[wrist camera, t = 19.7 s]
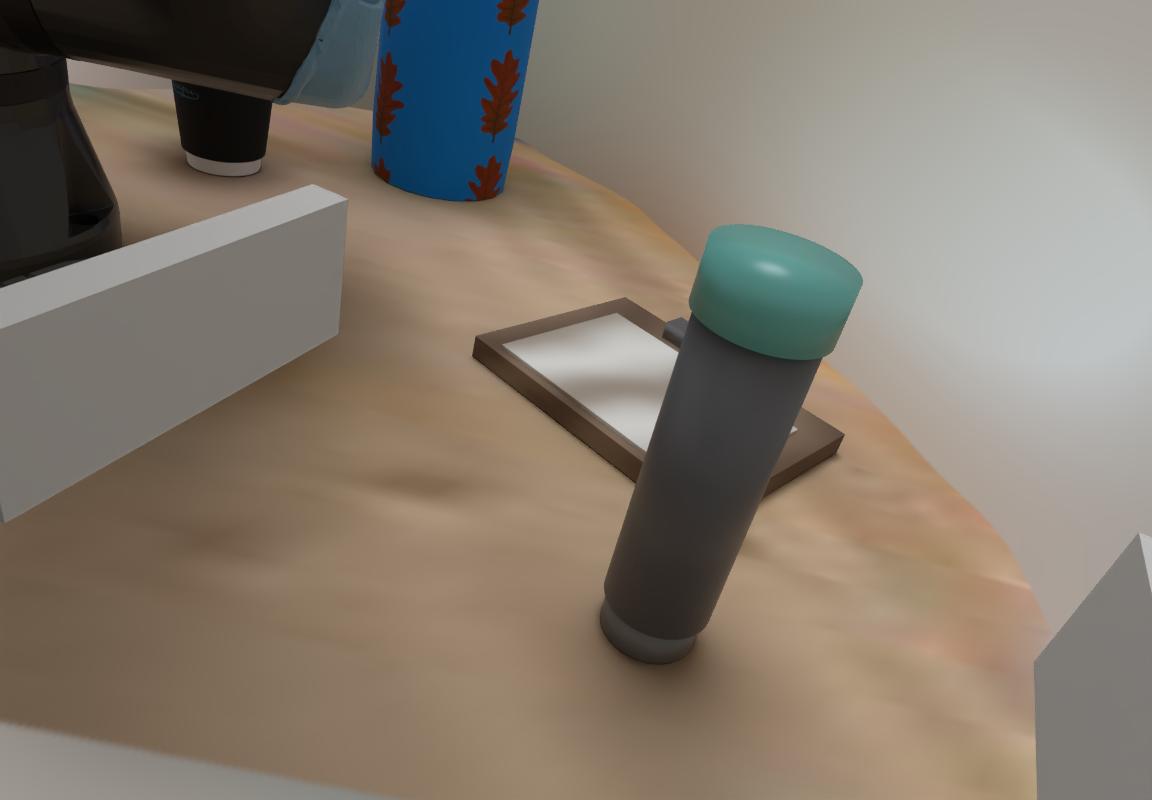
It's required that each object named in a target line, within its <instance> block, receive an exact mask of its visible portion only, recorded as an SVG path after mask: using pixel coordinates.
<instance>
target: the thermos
mask: <svg viewBox="0 0 1152 800" xmlns="http://www.w3.org/2000/svg"><path fill="white" fill-rule="evenodd" d="M538 3H539V0H385V4H384V9H383V14H382V20H381V28H380V40H379V51H378V62H377V75H376V86H375V97H374V109H373V131H372V167H373V169H374V172H375V174H377V175H378V176H379V177H381V178H382V179H383V180H385V181H386V182H387V183H389V184H392V185H394V186H396V187H399V188H401V189H403V190H406V191H409V192H412V193H416V194H420V195H423V196H427V197H431V198H438V199H445V200H453V201H478V200H484V199H489V198H493V197H495V196H497V195H498V194H500V193H501V192H502V191H503V186H504V182H505V178H506V174H507V169H508V165H509V161H510V157H511V152H512V148H513V143H514V138H515V132H516V126H517V121H518V115H519V109H520V104H521V98H522V93H523V87H524V81H525V76H526V70H527V65H528V58H529V53H530V48H531V42H532V36H533V30H534V25H535V19H536V14H537V8H538Z"/></svg>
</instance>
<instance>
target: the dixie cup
mask: <svg viewBox="0 0 1152 800" xmlns="http://www.w3.org/2000/svg"><path fill="white" fill-rule="evenodd" d="M172 85H173V92H174V98H175V105H176V112H177V118H178V125H179V132H180V138H181V145H182V147H183V149H184V150H185V151H186V156H187V162H188V164H189V165H190V166H192V167H193V168H195V169H197V170H200V171H203V172H206V173H210V174H215V175H222V176H245V175H250V174H254V173H256V172H258V171H259V170H260V166H261V159H262V157H264V155H265V153H266V145H267V138H268V131H269V123H270V116H271V109H272V102H271V100H266V99H261V98H257V97H252V96H247V95H242V94H238V93H233V92H228V91H224V90H219V89H214V88H210V87H205V86H200V85H195V84H191V83H186V82H181V81H177V80H172Z"/></svg>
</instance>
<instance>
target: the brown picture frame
mask: <svg viewBox="0 0 1152 800" xmlns="http://www.w3.org/2000/svg"><path fill="white" fill-rule="evenodd" d="M687 325H688V321H686V320H685V319H683V318H678V319H675V320H672V321H668V322H664V321H663V320H661V319H659V318H658V317H656V316H655V315H653V314H651V313H650V312H648V311H647V310H645V309H643V308H642V307H640V306H639V305H637V304H635V303H634V302H632V301H631V300H629V299H627V298H626V297H625V298H621V299H617V300H613V301H609V302H606V303H602V304H598V305H594V306H590V307H586V308H582V309H578V310H575V311H571V312H567V313H563V314H559V315H555V316H551V317H548V318H544V319H540V320H536V321H532V322H528V323H524V324H520V325H517V326H513V327H509V328H505V329H501V330H497V331H493V332H490V333H486V334H482V335H478V336H476V337H475V343H474V349H473V355H472V356H474V357H475V358H476V359H477V360H479V361H480V362H481V363H483V364H484V365H485V366H487V367H488V368H489V369H490V370H492V371H493V372H494V373H496V374H497V375H498V376H499V377H501V378H502V379H503V380H505V381H506V382H507V383H508V384H510V385H511V386H512V387H514V388H515V389H516V390H517V391H519V392H520V393H521V394H523V395H524V396H525V397H526V398H528V399H529V400H530V401H532V402H533V403H534V404H535V405H537V406H538V407H539V408H541V409H542V410H543V411H544V412H546V413H547V414H548V415H550V416H551V417H552V418H553V419H555V420H556V421H557V422H559V423H560V424H561V425H562V426H564V427H565V428H566V429H568V430H569V431H570V432H572V433H573V434H574V435H575V436H577V437H578V438H579V439H581V440H582V441H583V442H584V443H586V444H587V445H588V446H590V447H591V448H592V449H593V450H595V451H596V452H597V453H599V454H600V455H601V456H602V457H604V458H605V459H606V460H608V461H609V462H610V463H611V464H613V465H614V466H615V467H617V468H618V469H619V470H620V471H622V472H623V473H624V474H626V475H627V476H628V477H629V478H631V479H632V480H633V481H635V482H636V483H637V479H638V476H639V473H640V470H641V467H642V464H643V461H644V458H645V455H646V452H647V449H648V446H649V442H650V439H651V436H652V433H653V430H654V427H655V424H656V421H657V418H658V415H659V412H660V409H661V405H662V402H663V399H664V396H665V393H666V390H667V387H668V384H669V381H670V378H671V375H672V372H673V368H674V365H675V362H676V359H677V356H678V353H679V350H680V347H681V344H682V341H683V338H684V335H685V331H686V328H687ZM844 435H845V434H844V433H842V432H840V431H839V430H837V429H836V428H834V427H832V426H831V425H829V424H828V423H826V422H824V421H823V420H821V419H820V418H818V417H816V416H815V415H813V414H812V413H810V412H808V411H807V410H805V409H804V408H802V407H801V409H800V411H799V413H798V416H797V418H796V420H795V423H794V425H793V427H792V430H791V432H790V434H789V437H788V439H787V441H786V444H785V446H784V448H783V450H782V453H781V455H780V457H779V460H778V462H777V464H776V467H775V469H774V471H773V474H772V476H771V478H770V481H769V483H768V485H767V488H766V490H765V492H764V494H763V497H764V496H765V495H767V494H769V493H770V492H772V491H774V490H775V489H777V488H779V487H780V486H782V485H783V484H785V483H787V482H788V481H790V480H792V479H793V478H795V477H797V476H798V475H800V474H802V473H803V472H805V471H807V470H808V469H810V468H812V467H813V466H815V465H816V464H818V463H820V462H821V461H823V460H825V459H826V458H828V457H830V456H831V455H833V454H835V453H836V452H837V450H838V448H839V446H840V444H841V442H842V440H843V437H844Z"/></svg>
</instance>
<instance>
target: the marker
mask: <svg viewBox="0 0 1152 800" xmlns="http://www.w3.org/2000/svg"><path fill="white" fill-rule="evenodd" d="M862 284H863V279H862V276H861V274H860V273H859V271H858V270H857V269H856V268H855V267H854V266H853V265H852V264H851V263H849V262H848V261H847V260H846V259H844V258H843V257H841V256H840V255H838V254H836V253H834V252H833V251H831V250H829V249H827V248H825V247H823V246H821V245H819V244H817V243H815V242H812V241H810V240H807V239H805V238H802V237H799V236H796V235H793V234H790V233H787V232H783V231H779V230H775V229H771V228H766V227H760V226H753V225H739V224H737V225H736V224H735V225H724V226H721V227H718V228H715V229H714V230H712V231H711V233H710V234H709V238H708V241H707V244H706V247H705V250H704V253H703V256H702V259H701V263H700V266H699V269H698V272H697V275H696V278H695V281H694V284H693V288H692V291H691V294H690V297H689V306H690V309H691V311H692V313H691V316H690V319H689V322H688V325H687V328H686V331H685V335H684V338H683V341H682V344H681V347H680V350H679V353H678V356H677V359H676V362H675V365H674V368H673V372H672V375H671V378H670V381H669V384H668V387H667V390H666V393H665V396H664V399H663V402H662V405H661V409H660V412H659V415H658V418H657V421H656V424H655V427H654V430H653V433H652V436H651V439H650V442H649V446H648V449H647V452H646V455H645V458H644V461H643V464H642V467H641V470H640V473H639V476H638V479H637V483H636V486H635V489H634V492H633V495H632V498H631V501H630V504H629V507H628V510H627V513H626V516H625V519H624V523H623V526H622V529H621V532H620V535H619V538H618V541H617V544H616V547H615V550H614V553H613V556H612V560H611V563H610V566H609V569H608V572H607V575H606V578H605V582H604V591H605V599H604V602H603V605H602V608H601V612H600V621H601V626H602V628H603V631H604V633H605V634H606V636H607V638H608V639H609V640H610V642H611V643H612V644H613V645H614V646H615V647H617V648H618V649H619V650H620V651H622V652H623V653H625V654H626V655H628V656H630V657H632V658H634V659H636V660H639V661H642V662H646V663H652V664H666V663H671V662H675V661H677V660H679V659H681V658H682V657H684V656H685V655H686V654H687V653H688V652H689V650H690V649H691V647H692V645H693V642H694V640H695V638H696V635H697V634H698V633H699V632H701V631H702V630H703V629H704V628H705V627H706V625H707V624H708V622H709V619H710V617H711V615H712V613H713V610H714V608H715V606H716V603H717V601H718V599H719V596H720V594H721V592H722V589H723V587H724V585H725V582H726V580H727V578H728V575H729V573H730V571H731V569H732V566H733V564H734V562H735V559H736V557H737V555H738V552H739V550H740V548H741V545H742V543H743V541H744V538H745V536H746V534H747V531H748V529H749V527H750V525H751V522H752V520H753V518H754V515H755V513H756V511H757V508H758V506H759V504H760V501H761V499H762V497H763V494H764V492H765V490H766V488H767V485H768V483H769V481H770V478H771V476H772V474H773V471H774V469H775V467H776V464H777V462H778V460H779V457H780V455H781V453H782V450H783V448H784V446H785V444H786V441H787V439H788V437H789V434H790V432H791V430H792V427H793V425H794V423H795V420H796V418H797V416H798V413H799V411H800V409H801V406H802V404H803V402H804V400H805V397H806V395H807V393H808V390H809V388H810V386H811V383H812V381H813V379H814V376H815V374H816V372H817V369H818V367H819V365H820V362H821V360H822V358H823V357H825V356H827V355H828V354H830V353H831V352H832V351H833V350H834V348H835V346H836V344H837V341H838V339H839V337H840V335H841V332H842V330H843V328H844V325H845V323H846V321H847V319H848V316H849V314H850V312H851V309H852V307H853V305H854V303H855V300H856V298H857V296H858V293H859V291H860V289H861V287H862Z"/></svg>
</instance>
